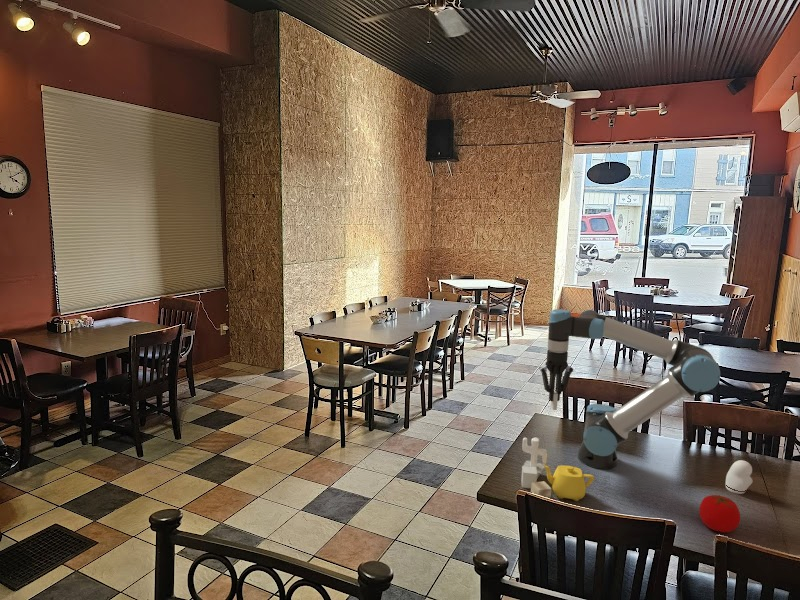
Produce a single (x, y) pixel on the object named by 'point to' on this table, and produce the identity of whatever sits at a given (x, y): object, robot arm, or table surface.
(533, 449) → the figurine
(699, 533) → the table surface
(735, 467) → the white mitten
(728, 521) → the tomato
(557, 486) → the teapot
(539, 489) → the beech block
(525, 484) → the white block
